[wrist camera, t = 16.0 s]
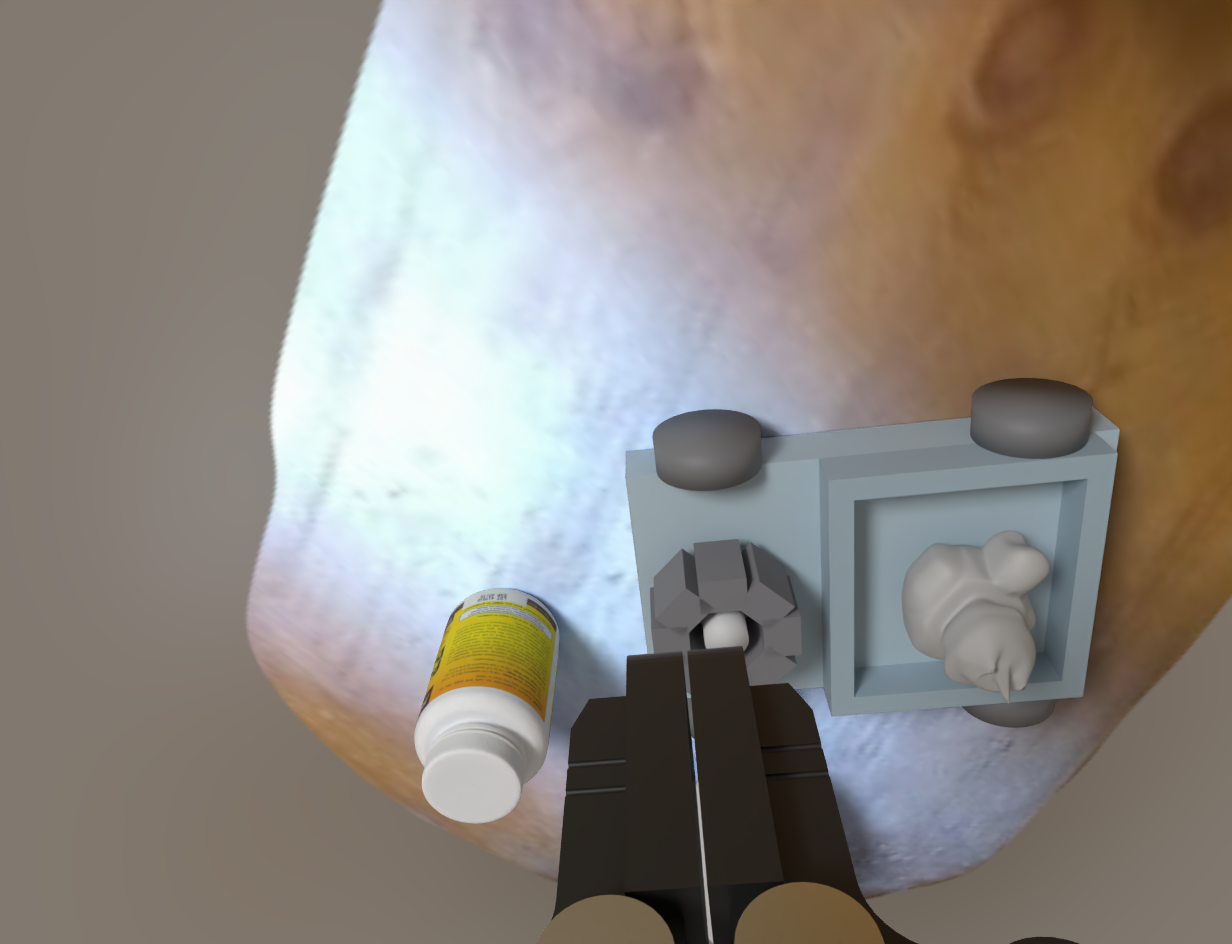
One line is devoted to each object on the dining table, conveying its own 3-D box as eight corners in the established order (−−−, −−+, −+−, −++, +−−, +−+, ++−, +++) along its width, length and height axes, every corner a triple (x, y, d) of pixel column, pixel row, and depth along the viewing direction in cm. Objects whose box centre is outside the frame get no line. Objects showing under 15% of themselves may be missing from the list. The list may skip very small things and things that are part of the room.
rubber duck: (858, 590, 40) (907, 714, 33) (961, 479, 38) (1039, 588, 31) (950, 644, 42) (1016, 775, 34) (1056, 541, 39) (1151, 659, 32)
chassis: (621, 418, 39) (619, 484, 34) (1096, 370, 38) (1174, 430, 33) (655, 692, 46) (658, 784, 41) (1059, 659, 45) (1119, 750, 39)
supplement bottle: (440, 584, 43) (389, 735, 34) (556, 580, 43) (536, 732, 34) (455, 676, 46) (412, 841, 37) (565, 673, 46) (548, 837, 37)
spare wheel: (644, 547, 38) (645, 587, 36) (787, 534, 38) (799, 573, 35) (658, 660, 41) (660, 705, 38) (791, 649, 41) (803, 693, 38)
